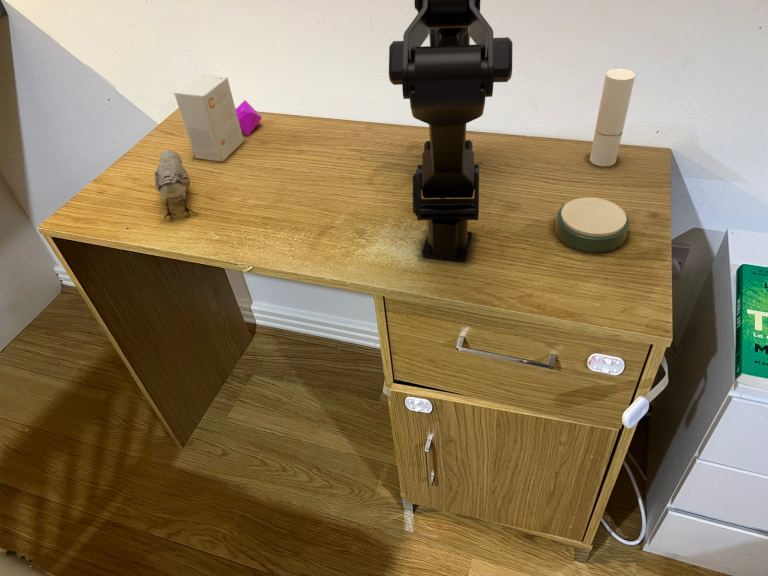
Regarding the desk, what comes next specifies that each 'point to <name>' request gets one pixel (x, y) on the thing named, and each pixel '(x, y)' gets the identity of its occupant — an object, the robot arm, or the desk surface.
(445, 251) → the robot arm
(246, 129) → the crystal
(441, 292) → the desk surface
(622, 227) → the stand
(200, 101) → the small box
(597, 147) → the tube
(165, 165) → the decorative bird
